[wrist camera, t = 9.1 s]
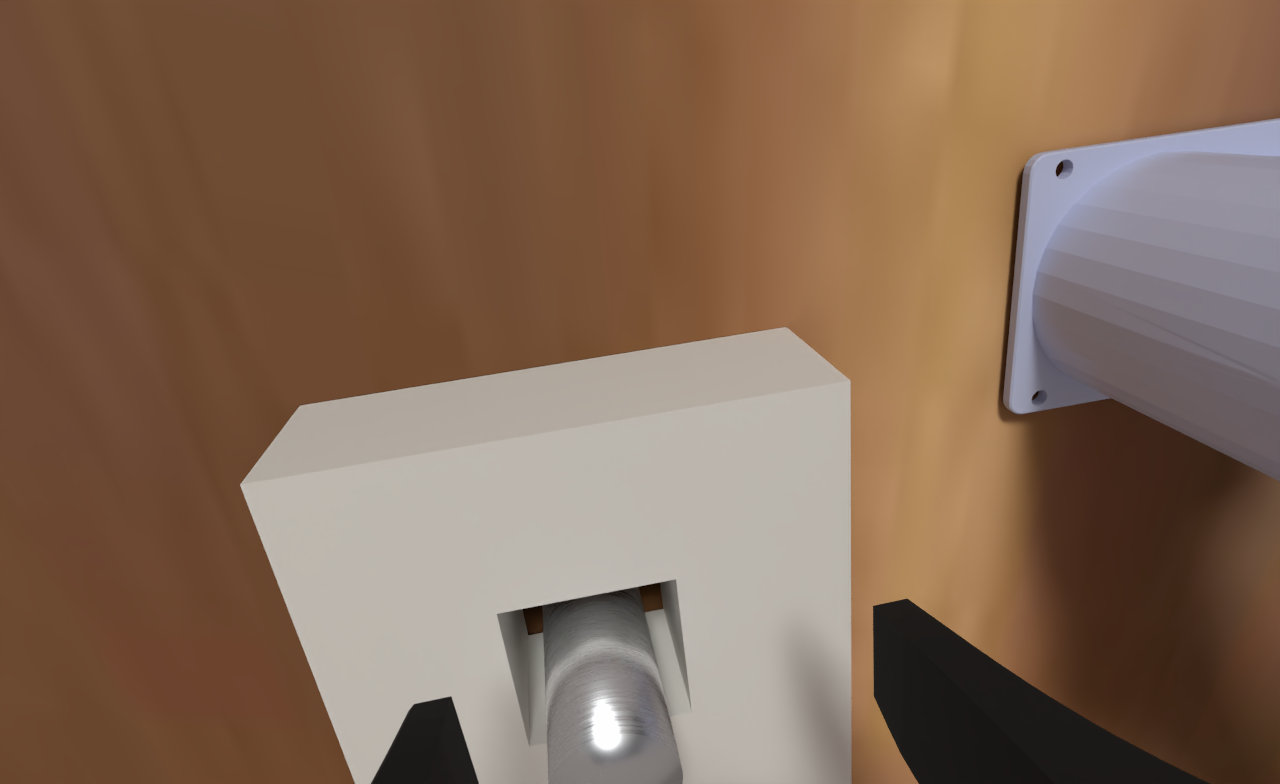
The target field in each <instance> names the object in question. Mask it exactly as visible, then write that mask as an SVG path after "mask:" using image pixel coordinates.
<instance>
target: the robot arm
mask: <svg viewBox="0 0 1280 784" xmlns="http://www.w3.org/2000/svg"><path fill="white" fill-rule="evenodd" d="M1061 161H1062V162H1063V170H1062V172H1061V173H1060V175H1059V176H1056V168H1057V165H1058V164H1059V163H1060V162H1061ZM1037 391H1039V393H1038V396H1037V397H1036V398H1035V399H1034V400H1032V397H1033V395H1034V394H1035V393H1036V392H1037ZM1110 398H1112V399H1114V400H1116V401H1118V402H1120V403H1122V404H1124V405H1126V406H1128V407H1130V408H1132V409H1134V410H1136V411H1138V412H1140V413H1142V414H1144V415H1146V416H1148V417H1150V418H1152V419H1154V420H1156V421H1158V422H1160V423H1162V424H1165V425H1167V426H1169V427H1171V428H1173V429H1175V430H1177V431H1179V432H1181V433H1183V434H1185V435H1187V436H1189V437H1191V438H1193V439H1195V440H1197V441H1199V442H1201V443H1203V444H1205V445H1207V446H1209V447H1211V448H1213V449H1215V450H1217V451H1219V452H1221V453H1223V454H1225V455H1227V456H1229V457H1231V458H1233V459H1235V460H1237V461H1239V462H1241V463H1243V464H1245V465H1247V466H1250V467H1252V468H1254V469H1256V470H1258V471H1260V472H1262V473H1264V474H1266V475H1268V476H1270V477H1272V478H1274V479H1276V480H1278V481H1280V118H1278V119H1271V120H1264V121H1257V122H1250V123H1243V124H1236V125H1229V126H1222V127H1215V128H1208V129H1201V130H1194V131H1187V132H1180V133H1173V134H1166V135H1159V136H1152V137H1145V138H1138V139H1131V140H1124V141H1117V142H1110V143H1103V144H1096V145H1089V146H1082V147H1075V148H1068V149H1061V150H1054V151H1047V152H1041V153H1038V154H1035V155H1034V156H1033V157H1031V158H1030V159H1029V160H1028V162H1027V164H1026V165H1025V168H1024V172H1023V180H1022V191H1021V202H1020V214H1019V225H1018V236H1017V248H1016V259H1015V270H1014V282H1013V293H1012V304H1011V316H1010V327H1009V338H1008V350H1007V361H1006V372H1005V384H1004V395H1003V402H1004V405H1005V407H1006V408H1007V409H1009V410H1010V411H1012V412H1014V413H1016V414H1026V413H1032V412H1037V411H1043V410H1048V409H1054V408H1060V407H1065V406H1071V405H1076V404H1082V403H1087V402H1093V401H1099V400H1104V399H1110ZM873 636H874V697H875V699H876V701H877V704H878V706H879V708H880V710H881V712H882V715H883V717H884V719H885V721H886V723H887V726H888V728H889V730H890V732H891V734H892V736H893V738H894V740H895V742H896V744H897V747H898V749H899V751H900V753H901V755H902V756H903V758H904V760H905V761H906V763H907V765H908V767H909V768H910V770H911V772H912V773H913V775H914V776H915V778H916V780H917V781H918V783H919V784H1210V783H1207V782H1205V781H1203V780H1201V779H1199V778H1197V777H1195V776H1193V775H1190V774H1188V773H1186V772H1184V771H1182V770H1180V769H1178V768H1176V767H1174V766H1172V765H1170V764H1168V763H1166V762H1164V761H1162V760H1160V759H1159V758H1157V757H1155V756H1153V755H1151V754H1149V753H1147V752H1145V751H1143V750H1142V749H1140V748H1138V747H1136V746H1134V745H1132V744H1130V743H1128V742H1126V741H1125V740H1123V739H1121V738H1119V737H1117V736H1115V735H1113V734H1112V733H1110V732H1108V731H1106V730H1105V729H1103V728H1101V727H1099V726H1097V725H1096V724H1094V723H1092V722H1091V721H1089V720H1087V719H1086V718H1084V717H1082V716H1081V715H1079V714H1077V713H1076V712H1074V711H1072V710H1071V709H1069V708H1067V707H1066V706H1064V705H1062V704H1061V703H1059V702H1057V701H1056V700H1054V699H1052V698H1051V697H1049V696H1048V695H1046V694H1044V693H1043V692H1041V691H1040V690H1038V689H1037V688H1035V687H1033V686H1032V685H1030V684H1029V683H1027V682H1026V681H1024V680H1023V679H1021V678H1020V677H1018V676H1017V675H1015V674H1014V673H1012V672H1011V671H1009V670H1008V669H1006V668H1005V667H1003V666H1002V665H1000V664H999V663H997V662H996V661H994V660H993V659H991V658H990V657H989V656H987V655H986V654H984V653H983V652H981V651H980V650H979V649H977V648H976V647H974V646H973V645H971V644H970V643H969V642H967V641H966V640H964V639H963V638H962V637H960V636H959V635H957V634H956V633H955V632H953V631H952V630H950V629H949V628H948V627H946V626H945V625H943V624H942V623H941V622H939V621H938V620H936V619H935V618H934V617H932V616H931V615H929V614H928V613H927V612H925V611H924V610H922V609H921V608H920V607H918V606H917V605H915V604H914V603H912V602H911V601H910V600H908V599H904V600H899V601H894V602H890V603H885V604H880V605H876V606H873ZM371 784H479V782H478V779H477V776H476V772H475V769H474V766H473V763H472V760H471V757H470V754H469V750H468V747H467V744H466V741H465V738H464V735H463V731H462V728H461V725H460V722H459V719H458V716H457V713H456V709H455V706H454V703H453V700H452V697H451V696H450V697H445V698H440V699H436V700H431V701H426V702H422V703H417V704H414V705H413V706H412V707H411V708H410V710H409V711H408V713H407V715H406V717H405V719H404V721H403V723H402V725H401V727H400V729H399V731H398V733H397V735H396V737H395V739H394V741H393V743H392V745H391V747H390V748H389V750H388V752H387V754H386V756H385V758H384V760H383V762H382V764H381V766H380V767H379V769H378V771H377V773H376V775H375V777H374V779H373V780H372V782H371Z"/></svg>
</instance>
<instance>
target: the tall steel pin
mask: <svg viewBox="0 0 1280 784" xmlns="http://www.w3.org/2000/svg"><path fill="white" fill-rule="evenodd" d="M542 611H543V640H544V668H545V697H546V726H547V754H548V783H549V784H682V782H683V770H682V766H681V762H680V758H679V754H678V749H677V745H676V741H675V737H674V733H673V728H672V724H671V720H670V716H669V712H668V707H667V703H666V699H665V695H664V691H663V686H662V682H661V678H660V674H659V669H658V665H657V661H656V657H655V653H654V648H653V644H652V640H651V636H650V632H649V627H648V623H647V619H646V615H645V611H644V606H643V602H642V598H641V594H640V590H639V587H633V588H628V589H623V590H618V591H613V592H608V593H602V594H597V595H592V596H587V597H582V598H577V599H571V600H566V601H561V602H556V603H551V604H546V605H542Z"/></svg>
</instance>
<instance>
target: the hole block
mask: <svg viewBox="0 0 1280 784" xmlns="http://www.w3.org/2000/svg"><path fill="white" fill-rule="evenodd" d="M240 486H241V489H242V491H243V494H244V496H245V499H246V502H247V504H248V507H249V509H250V512H251V515H252V517H253V520H254V522H255V525H256V527H257V530H258V533H259V535H260V538H261V540H262V543H263V546H264V548H265V551H266V553H267V556H268V559H269V561H270V564H271V566H272V569H273V572H274V574H275V577H276V579H277V582H278V585H279V587H280V590H281V592H282V595H283V598H284V600H285V603H286V605H287V608H288V610H289V613H290V616H291V618H292V621H293V623H294V626H295V629H296V631H297V634H298V636H299V639H300V642H301V644H302V647H303V649H304V652H305V655H306V657H307V660H308V662H309V665H310V668H311V670H312V673H313V675H314V678H315V681H316V683H317V686H318V688H319V691H320V693H321V696H322V699H323V701H324V704H325V706H326V709H327V712H328V714H329V717H330V719H331V722H332V725H333V727H334V730H335V732H336V735H337V738H338V740H339V743H340V745H341V748H342V751H343V753H344V756H345V758H346V761H347V764H348V766H349V769H350V771H351V774H352V776H353V779H354V782H355V784H371V782H372V780H373V779H374V777H375V775H376V773H377V771H378V769H379V767H380V766H381V764H382V762H383V760H384V758H385V756H386V754H387V752H388V750H389V748H390V747H391V745H392V743H393V741H394V739H395V737H396V735H397V733H398V731H399V729H400V727H401V725H402V723H403V721H404V719H405V717H406V715H407V713H408V711H409V710H410V708H411V707H412V706H413V705H414V704H417V703H422V702H426V701H431V700H436V699H440V698H445V697H450V696H451V697H452V700H453V703H454V706H455V709H456V713H457V716H458V719H459V722H460V725H461V728H462V731H463V735H464V738H465V741H466V744H467V747H468V750H469V754H470V757H471V760H472V763H473V766H474V769H475V772H476V776H477V779H478V782H479V784H549V783H548V754H547V726H546V697H545V668H544V640H543V633H538V634H533V635H528V631H527V627H526V622H525V618H524V614H523V609H525V608H530V607H535V606H540V605H546V604H551V603H556V602H561V601H566V600H571V599H577V598H582V597H587V596H592V595H597V594H602V593H608V592H613V591H618V590H623V589H628V588H633V587H639V586H644V585H649V584H654V583H659V582H660V587H661V595H662V603H663V609H660V610H654V611H649V612H645V615H646V619H647V623H648V627H649V632H650V636H651V640H652V644H653V648H654V653H655V657H656V661H657V665H658V669H659V674H660V678H661V682H662V686H663V691H664V695H665V699H666V703H667V707H668V712H669V716H670V720H671V724H672V728H673V733H674V737H675V741H676V745H677V749H678V754H679V758H680V762H681V766H682V770H683V782H682V784H851V427H850V380H849V379H848V378H847V377H845V376H844V375H843V374H842V373H841V372H839V371H838V370H837V369H836V368H835V367H833V366H832V365H831V364H830V363H829V362H827V361H826V360H825V359H824V358H823V357H822V356H820V355H819V354H818V353H817V352H816V351H814V350H813V349H812V348H811V347H810V346H808V345H807V344H806V343H805V342H804V341H802V340H801V339H800V338H799V337H798V336H796V335H795V334H794V333H793V332H792V331H790V330H789V329H788V328H787V327H783V328H777V329H771V330H765V331H758V332H752V333H746V334H740V335H734V336H728V337H721V338H715V339H709V340H703V341H697V342H691V343H684V344H678V345H672V346H666V347H660V348H653V349H647V350H641V351H635V352H629V353H623V354H616V355H610V356H604V357H598V358H592V359H585V360H579V361H573V362H567V363H561V364H555V365H548V366H542V367H536V368H530V369H524V370H517V371H511V372H505V373H499V374H493V375H487V376H480V377H474V378H468V379H462V380H456V381H450V382H443V383H437V384H431V385H425V386H419V387H412V388H406V389H400V390H394V391H388V392H382V393H375V394H369V395H363V396H357V397H351V398H344V399H338V400H332V401H326V402H320V403H314V404H307V405H301V406H299V408H298V409H297V410H296V412H295V413H294V414H293V416H292V417H291V418H290V419H289V421H288V422H287V423H286V425H285V426H284V427H283V429H282V430H281V431H280V433H279V434H278V435H277V437H276V438H275V439H274V441H273V442H272V443H271V445H270V446H269V447H268V449H267V450H266V451H265V453H264V454H263V455H262V456H261V458H260V459H259V460H258V462H257V463H256V464H255V466H254V467H253V468H252V470H251V471H250V472H249V474H248V475H247V476H246V478H245V479H244V480H243V482H242V483H241V484H240Z"/></svg>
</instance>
